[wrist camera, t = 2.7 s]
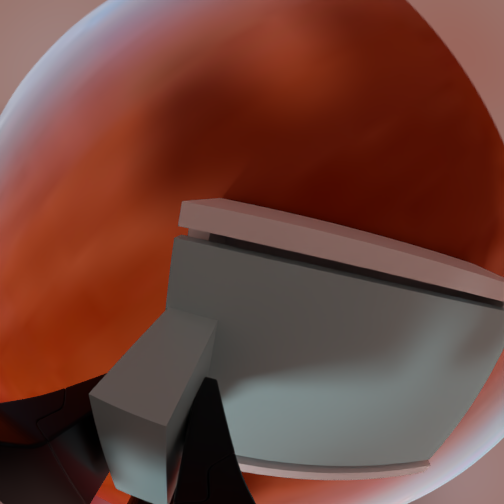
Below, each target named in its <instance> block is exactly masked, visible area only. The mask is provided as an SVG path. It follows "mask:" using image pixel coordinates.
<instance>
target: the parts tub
mask: <svg viewBox="0 0 504 504" xmlns="http://www.w3.org/2000/svg"><path fill="white" fill-rule="evenodd" d="M178 226H181V227H185V228H189V231H188V236H189V237H194V238H198V239H202V240H207V241H211V242H216V243H220V244H225V245H229V246H234V247H238V248H243V249H247V250H251V251H256V252H260V253H265V254H269V255H274V256H278V257H283V258H287V259H291V260H296V261H300V262H305V263H309V264H314V265H318V266H323V267H327V268H331V269H336V270H340V271H345V272H349V273H353V274H358V275H362V276H367V277H371V278H376V279H380V280H384V281H389V282H393V283H398V284H402V285H406V286H411V287H415V288H420V289H424V290H428V291H433V292H437V293H442V294H446V295H450V296H455V297H459V298H464V299H468V300H472V301H477V302H481V303H485V304H490V305H494V306H499V307H503V308H504V278H503V277H501V276H499V275H497V274H495V273H493V272H490V271H488V270H486V269H484V268H482V267H479V266H477V265H475V264H473V263H470V262H467V261H464V260H460V259H457V258H454V257H451V256H448V255H445V254H442V253H438V252H435V251H432V250H429V249H425V248H422V247H419V246H415V245H412V244H408V243H405V242H401V241H398V240H394V239H391V238H387V237H384V236H380V235H376V234H373V233H369V232H365V231H361V230H358V229H354V228H350V227H346V226H342V225H338V224H334V223H330V222H326V221H322V220H318V219H314V218H310V217H306V216H301V215H297V214H293V213H288V212H284V211H280V210H275V209H271V208H266V207H261V206H257V205H252V204H247V203H243V202H238V201H233V200H228V199H223V198H214V199H201V200H190V201H182V205H181V211H180V216H179V223H178ZM236 457H237V461H238V464H239V467H240V470H241V471H243V472H248V473H254V474H261V475H268V476H276V477H285V478H296V479H312V480H361V479H376V478H387V477H396V476H404V475H411V474H417V473H422V472H424V471H425V470H426V469H427V468H428V467H429V466H430V463H429V461H428V460H422V461H415V462H407V463H398V464H387V465H370V466H322V465H306V464H294V463H285V462H276V461H269V460H262V459H256V458H250V457H245V456H240V455H236Z"/></svg>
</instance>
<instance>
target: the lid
mask: <svg viewBox="0 0 504 504" xmlns="http://www.w3.org/2000/svg"><path fill="white" fill-rule="evenodd" d="M503 348H504V308H503V307H499V306H494V305H490V304H485V303H481V302H477V301H472V300H468V299H464V298H459V297H455V296H450V295H446V294H442V293H437V292H433V291H428V290H424V289H420V288H415V287H411V286H406V285H402V284H398V283H393V282H389V281H384V280H380V279H376V278H371V277H367V276H362V275H358V274H353V273H349V272H345V271H340V270H336V269H331V268H327V267H323V266H318V265H314V264H309V263H305V262H300V261H296V260H291V259H287V258H283V257H278V256H274V255H269V254H265V253H260V252H256V251H251V250H247V249H243V248H238V247H234V246H229V245H225V244H220V243H216V242H211V241H207V240H202V239H198V238H194V237H189V236H185V235H180V236H177V237H175V238H174V245H173V252H172V259H171V267H170V275H169V283H168V292H167V302H166V311H165V312H164V313H163V314H162V315H161V316H160V317H159V318H158V319H157V320H156V321H155V322H154V323H153V324H152V325H151V326H150V328H149V329H148V330H147V331H146V332H145V333H144V334H143V335H142V336H141V337H140V338H139V339H138V340H137V341H136V343H135V344H134V345H133V346H132V347H131V348H130V349H129V350H128V351H127V352H126V353H125V354H124V355H123V357H122V358H121V359H120V360H119V361H118V362H117V363H116V364H115V365H114V366H113V367H112V369H111V370H110V371H109V372H108V373H107V374H106V375H105V376H104V377H103V378H102V380H101V381H100V382H99V383H98V384H97V385H96V386H95V387H94V388H93V389H92V391H91V392H90V393H89V398H90V403H91V407H92V412H93V416H94V420H95V424H96V428H97V432H98V436H99V439H100V443H101V446H102V449H103V453H104V456H105V459H106V462H107V465H108V468H109V471H110V473H111V476H112V479H113V482H114V484H115V487H116V489H118V490H121V491H123V492H125V493H127V494H130V495H132V496H135V497H137V498H140V499H142V500H145V501H148V502H150V503H153V504H170V501H171V498H172V496H173V493H174V490H175V488H176V484H177V479H178V474H179V468H180V463H181V458H182V453H183V448H184V443H185V438H186V433H187V428H188V423H189V418H190V413H191V409H192V404H193V400H194V398H195V396H196V394H197V392H198V390H199V388H200V386H201V384H202V382H203V380H204V378H205V377H210V378H214V379H216V380H217V381H218V385H219V390H220V394H221V399H222V403H223V407H224V411H225V415H226V419H227V423H228V427H229V431H230V435H231V439H232V443H233V446H234V450H235V454H236V455H240V456H245V457H250V458H256V459H262V460H269V461H276V462H285V463H294V464H306V465H322V466H370V465H387V464H398V463H407V462H415V461H422V460H428V459H430V458H431V457H432V456H433V454H434V453H435V452H436V451H437V450H438V449H439V448H440V446H441V445H442V444H443V443H444V441H445V440H446V439H447V438H448V437H449V435H450V434H451V433H452V431H453V430H454V429H455V427H456V426H457V425H458V423H459V422H460V421H461V419H462V418H463V416H464V415H465V414H466V412H467V411H468V409H469V408H470V406H471V405H472V403H473V402H474V400H475V399H476V397H477V396H478V394H479V392H480V391H481V389H482V387H483V386H484V384H485V382H486V381H487V379H488V377H489V375H490V374H491V372H492V370H493V368H494V366H495V364H496V362H497V360H498V359H499V357H500V355H501V353H502V350H503Z"/></svg>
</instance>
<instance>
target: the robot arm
mask: <svg viewBox="0 0 504 504" xmlns="http://www.w3.org/2000/svg"><path fill="white" fill-rule="evenodd" d="M106 374H107V373H106ZM106 374H103V375H101V376H98V377H95V378H92V379H90V380H87V381H84V382H81V383H78V384H76V385H73V386H70V387H67V388H66V390H65V389H61V390H58V391H55V392H51V393H48V394H45V395H41V396H36V397H32V398H27V399H22V400H16V401H10V402H4V403H0V504H90V503H91V501H92V500H93V498H94V496H95V495H96V493H97V491H98V490H99V488H100V486H101V485H102V483H103V481H104V480H105V478H106V476H107V475H108V473H109V468H108V465H107V462H106V459H105V456H104V453H103V449H102V446H101V443H100V439H99V436H98V432H97V428H96V424H95V420H94V416H93V412H92V407H91V403H90V398H89V393H90V392H91V391H92V389H93V388H94V387H95V386H96V385H97V384H98V383H99V382H100V381H101V380H102V378H103V377H104V376H105V375H106ZM127 504H153V503H150V502H148V501H145V500H142V499H140V498H137V497H135V496H132V495H131V497H130V499H129V501H128V503H127ZM170 504H256V503H255V501H254V499H253V497H252V495H251V493H250V491H249V489H248V487H247V485H246V483H245V480H244V478H243V476H242V473H241V470H240V467H239V464H238V461H237V457H236V454H235V450H234V446H233V443H232V439H231V435H230V431H229V427H228V423H227V419H226V415H225V411H224V407H223V403H222V399H221V394H220V390H219V385H218V381H217V380H216V379H214V378H210V377H205V378H204V380H203V382H202V384H201V386H200V388H199V390H198V392H197V394H196V396H195V398H194V400H193V404H192V409H191V413H190V418H189V423H188V428H187V433H186V438H185V443H184V448H183V453H182V458H181V463H180V468H179V474H178V479H177V484H176V489H175V490H174V493H173V496H172V498H171V501H170Z"/></svg>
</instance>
